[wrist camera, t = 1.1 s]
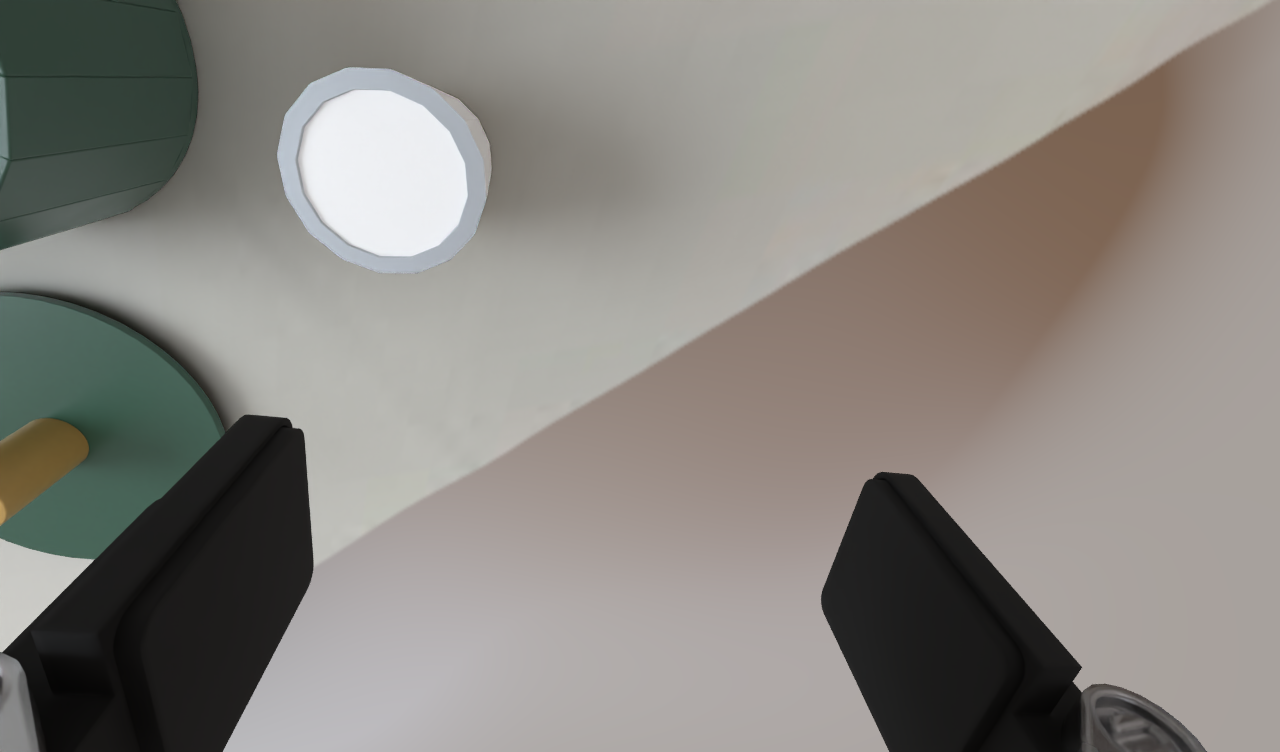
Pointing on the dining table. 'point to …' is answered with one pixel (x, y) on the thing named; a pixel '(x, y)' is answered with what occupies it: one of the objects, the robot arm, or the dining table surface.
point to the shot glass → (385, 169)
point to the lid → (88, 425)
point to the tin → (89, 110)
